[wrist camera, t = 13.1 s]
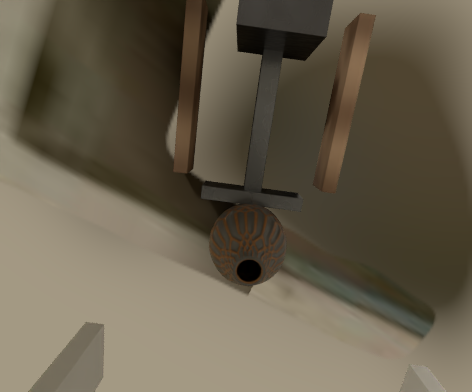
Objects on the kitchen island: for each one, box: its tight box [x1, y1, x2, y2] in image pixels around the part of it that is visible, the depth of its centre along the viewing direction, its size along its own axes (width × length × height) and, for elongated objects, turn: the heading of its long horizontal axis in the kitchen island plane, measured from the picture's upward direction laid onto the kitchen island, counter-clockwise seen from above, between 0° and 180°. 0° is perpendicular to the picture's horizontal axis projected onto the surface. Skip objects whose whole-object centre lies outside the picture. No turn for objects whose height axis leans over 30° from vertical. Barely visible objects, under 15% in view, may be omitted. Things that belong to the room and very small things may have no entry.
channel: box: [173, 0, 376, 193], centre depth 23 cm, size 14×14×3 cm
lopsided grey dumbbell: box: [201, 0, 333, 212], centre depth 21 cm, size 16×9×6 cm, turn 172°
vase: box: [209, 204, 286, 286], centre depth 23 cm, size 7×7×9 cm
